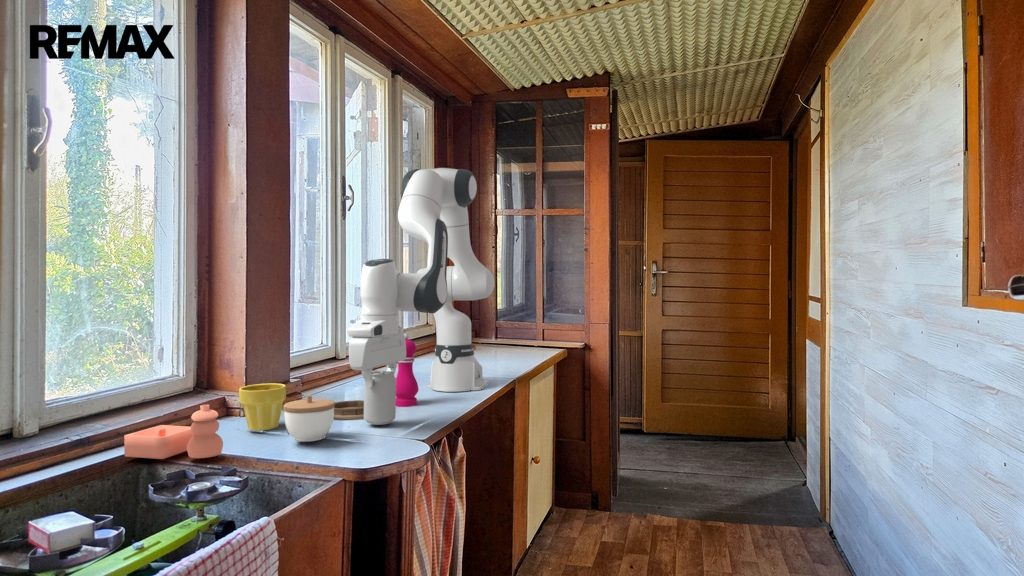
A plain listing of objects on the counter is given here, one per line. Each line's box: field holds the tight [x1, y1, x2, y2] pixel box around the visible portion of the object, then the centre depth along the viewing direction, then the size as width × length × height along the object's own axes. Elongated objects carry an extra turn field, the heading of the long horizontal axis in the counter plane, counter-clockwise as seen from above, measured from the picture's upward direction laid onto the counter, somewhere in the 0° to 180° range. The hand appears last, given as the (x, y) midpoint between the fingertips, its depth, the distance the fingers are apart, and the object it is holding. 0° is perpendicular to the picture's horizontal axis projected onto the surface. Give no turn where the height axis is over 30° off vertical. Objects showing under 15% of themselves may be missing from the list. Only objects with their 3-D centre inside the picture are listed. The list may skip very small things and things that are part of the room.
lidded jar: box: [283, 395, 335, 443], centre depth 139 cm, size 11×11×9 cm
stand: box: [333, 399, 364, 421], centre depth 165 cm, size 14×14×2 cm
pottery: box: [123, 404, 224, 460], centre depth 128 cm, size 18×10×10 cm, turn 76°
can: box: [363, 370, 397, 426], centre depth 152 cm, size 8×8×12 cm
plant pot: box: [238, 382, 287, 432], centre depth 149 cm, size 10×10×10 cm
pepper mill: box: [395, 333, 419, 408], centre depth 177 cm, size 7×7×20 cm
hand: (379, 384), depth 152 cm, fingers closed on can, 7 cm apart
